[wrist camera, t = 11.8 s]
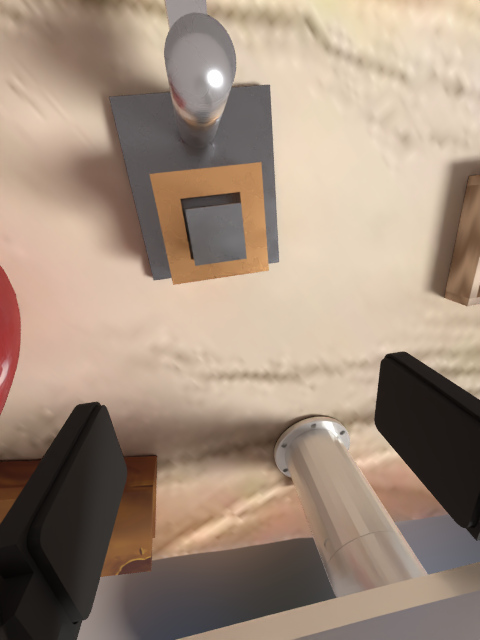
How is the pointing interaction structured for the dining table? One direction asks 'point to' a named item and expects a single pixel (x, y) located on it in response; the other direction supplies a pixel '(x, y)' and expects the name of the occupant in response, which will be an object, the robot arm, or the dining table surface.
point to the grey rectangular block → (216, 233)
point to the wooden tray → (467, 250)
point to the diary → (132, 518)
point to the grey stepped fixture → (199, 150)
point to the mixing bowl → (8, 336)
